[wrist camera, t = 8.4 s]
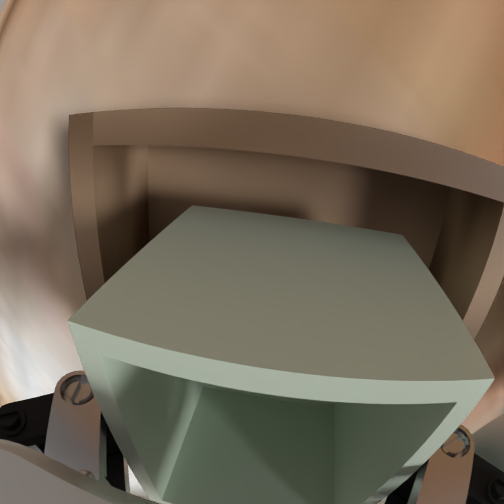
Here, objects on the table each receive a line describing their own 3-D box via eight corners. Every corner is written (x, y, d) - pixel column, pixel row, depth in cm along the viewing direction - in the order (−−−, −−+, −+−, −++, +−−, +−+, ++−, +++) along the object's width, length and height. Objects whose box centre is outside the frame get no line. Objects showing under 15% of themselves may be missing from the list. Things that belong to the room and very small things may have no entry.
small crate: (191, 205, 9) (68, 320, 4) (402, 234, 9) (495, 378, 3) (195, 383, 13) (150, 499, 7) (340, 404, 12) (343, 528, 7)
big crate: (137, 111, 11) (69, 115, 7) (467, 156, 10) (531, 178, 6) (153, 363, 17) (122, 417, 13) (381, 396, 16) (392, 458, 12)
